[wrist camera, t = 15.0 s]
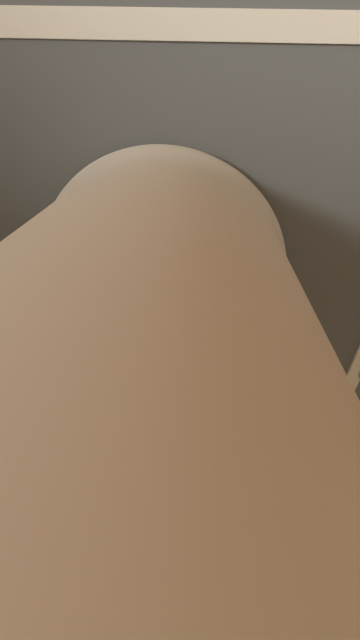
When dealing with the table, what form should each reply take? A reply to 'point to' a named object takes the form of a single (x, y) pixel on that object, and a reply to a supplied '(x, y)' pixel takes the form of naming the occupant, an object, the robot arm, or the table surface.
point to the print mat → (199, 115)
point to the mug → (170, 418)
